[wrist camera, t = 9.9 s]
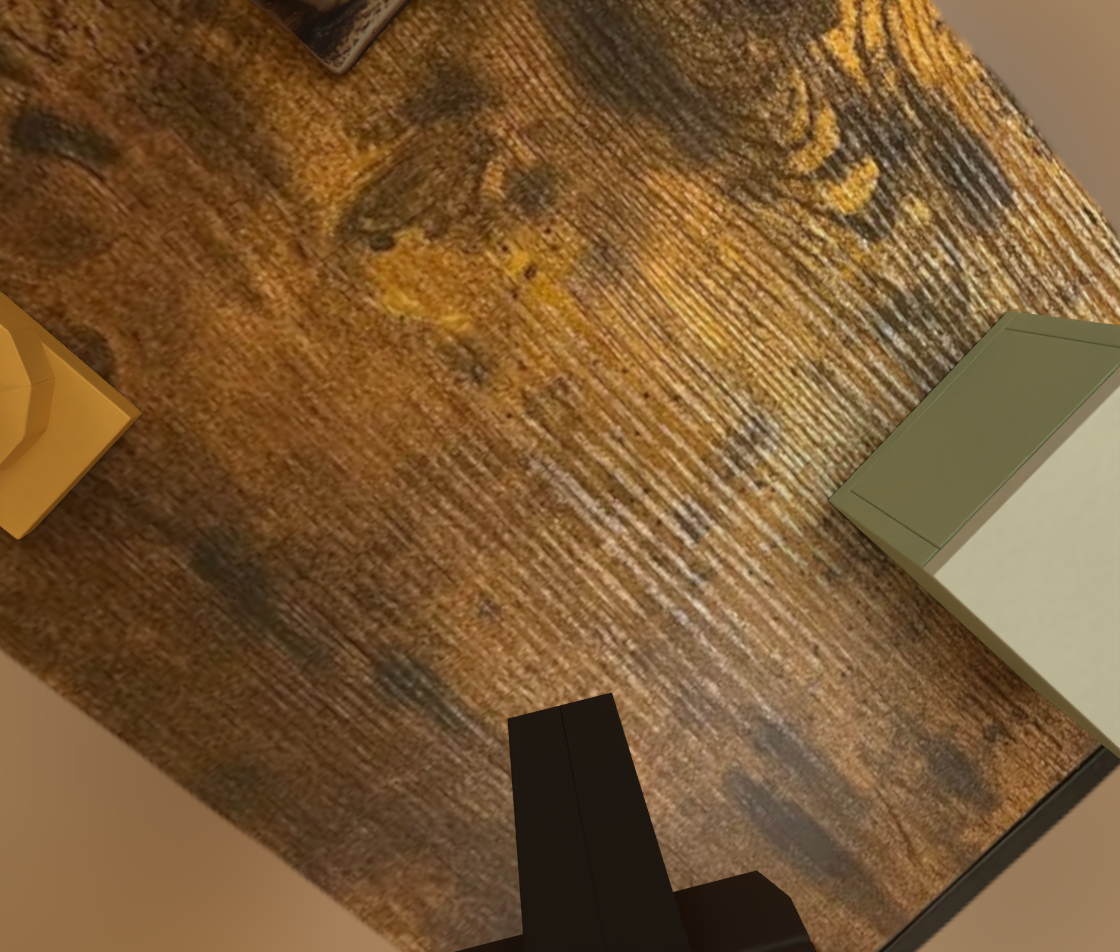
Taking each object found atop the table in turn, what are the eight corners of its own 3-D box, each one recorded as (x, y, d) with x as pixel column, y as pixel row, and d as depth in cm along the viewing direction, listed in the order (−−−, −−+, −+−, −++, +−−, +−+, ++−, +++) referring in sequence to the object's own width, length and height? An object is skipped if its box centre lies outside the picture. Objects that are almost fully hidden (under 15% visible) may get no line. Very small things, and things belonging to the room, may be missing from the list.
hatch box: (1207, 520, 38) (1389, 589, 31) (1034, 690, 39) (1168, 797, 32) (1007, 309, 35) (1153, 328, 28) (827, 499, 36) (920, 567, 29)
